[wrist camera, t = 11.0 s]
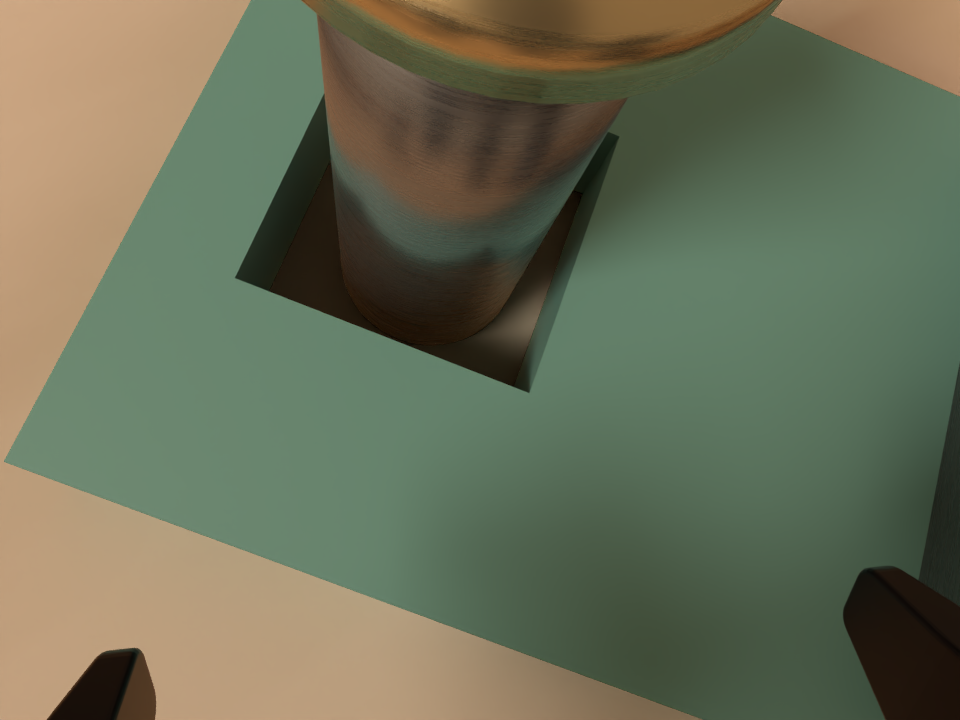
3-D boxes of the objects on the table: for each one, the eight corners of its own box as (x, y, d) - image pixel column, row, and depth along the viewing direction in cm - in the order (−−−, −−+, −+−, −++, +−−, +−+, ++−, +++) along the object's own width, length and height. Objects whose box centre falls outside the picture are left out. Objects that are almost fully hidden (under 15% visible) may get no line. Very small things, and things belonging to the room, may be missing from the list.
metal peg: (591, 266, 19) (995, -215, 7) (430, 427, 18) (575, 180, 5) (428, 110, 20) (534, -617, 7) (256, 254, 18) (14, -356, 6)
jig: (988, 200, 22) (1182, 97, 17) (879, 774, 18) (1093, 875, 12) (345, -72, 21) (338, -276, 15) (67, 473, 16) (-71, 447, 11)
